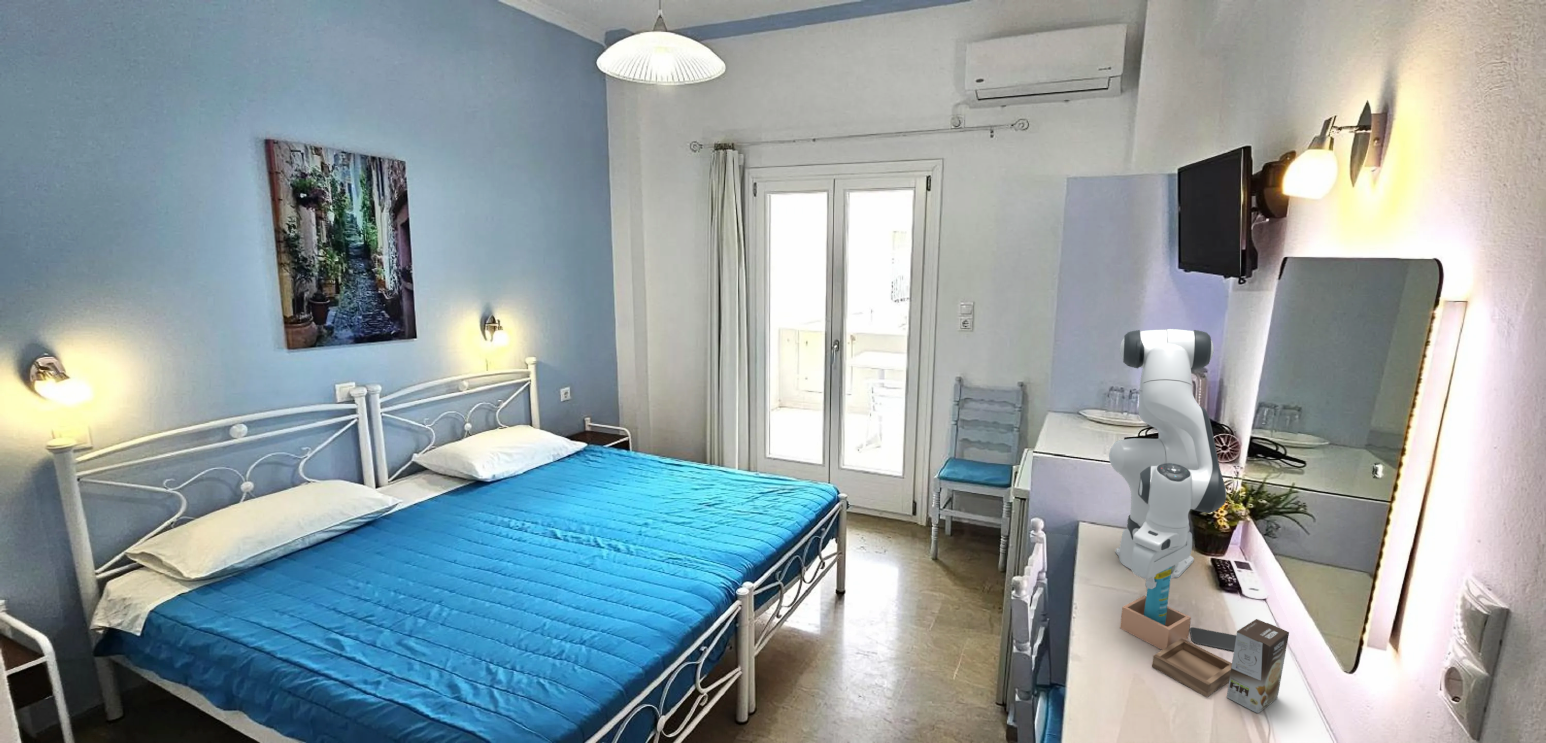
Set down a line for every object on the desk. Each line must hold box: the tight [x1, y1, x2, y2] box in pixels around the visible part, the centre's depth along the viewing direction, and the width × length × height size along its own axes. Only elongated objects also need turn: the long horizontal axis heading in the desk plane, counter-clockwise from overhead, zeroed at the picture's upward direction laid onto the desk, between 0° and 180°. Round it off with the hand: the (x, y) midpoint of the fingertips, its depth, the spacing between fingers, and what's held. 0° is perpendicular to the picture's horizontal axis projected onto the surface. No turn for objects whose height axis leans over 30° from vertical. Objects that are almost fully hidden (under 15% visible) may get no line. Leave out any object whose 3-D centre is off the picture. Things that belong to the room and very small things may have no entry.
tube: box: [1144, 566, 1172, 625], centre depth 166 cm, size 7×5×19 cm, turn 123°
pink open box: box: [1119, 595, 1192, 651], centre depth 168 cm, size 10×12×6 cm
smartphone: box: [1189, 626, 1237, 653], centre depth 164 cm, size 7×1×15 cm
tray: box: [1151, 638, 1232, 698], centre depth 154 cm, size 12×12×3 cm
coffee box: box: [1226, 618, 1290, 714], centre depth 144 cm, size 9×6×16 cm
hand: (1159, 582), depth 166 cm, fingers closed on tube, 6 cm apart
